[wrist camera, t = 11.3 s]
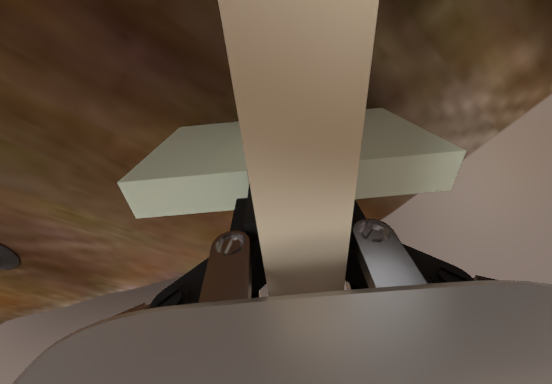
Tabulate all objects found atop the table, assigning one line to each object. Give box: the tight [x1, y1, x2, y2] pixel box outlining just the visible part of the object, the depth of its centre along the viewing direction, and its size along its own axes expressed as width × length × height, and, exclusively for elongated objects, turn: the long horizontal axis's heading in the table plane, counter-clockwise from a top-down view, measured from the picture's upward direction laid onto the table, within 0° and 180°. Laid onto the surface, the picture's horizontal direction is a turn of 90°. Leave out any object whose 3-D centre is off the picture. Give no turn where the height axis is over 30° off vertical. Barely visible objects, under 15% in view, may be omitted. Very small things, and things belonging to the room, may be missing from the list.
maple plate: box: [218, 0, 379, 296], centre depth 14 cm, size 18×2×16 cm, turn 5°
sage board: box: [117, 108, 466, 219], centre depth 17 cm, size 2×18×10 cm, turn 95°
